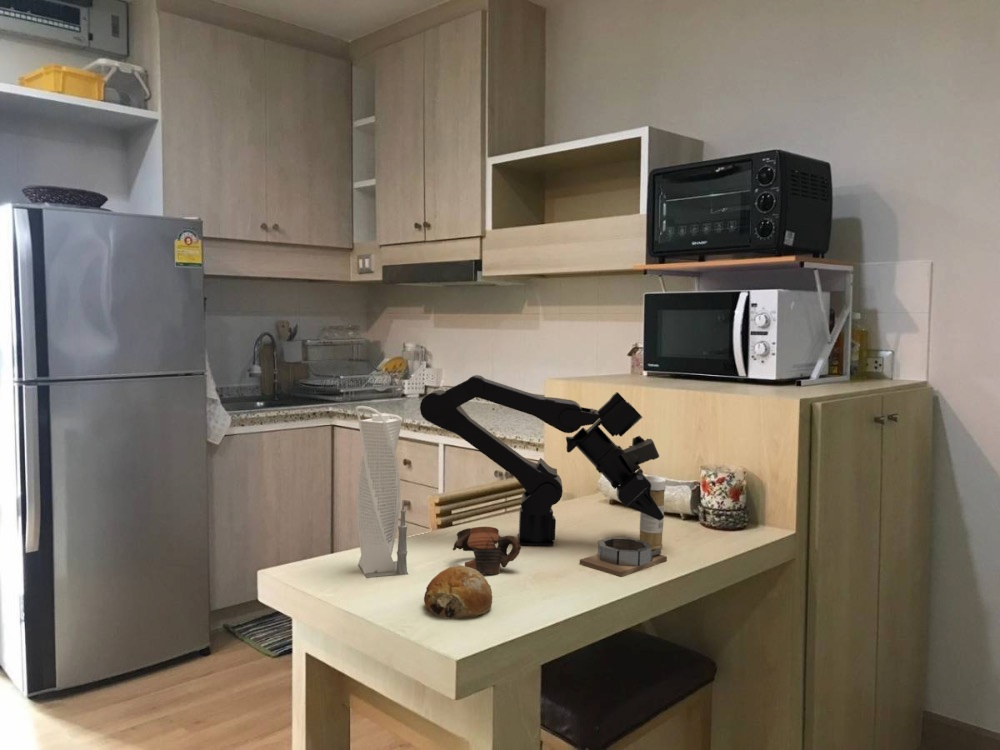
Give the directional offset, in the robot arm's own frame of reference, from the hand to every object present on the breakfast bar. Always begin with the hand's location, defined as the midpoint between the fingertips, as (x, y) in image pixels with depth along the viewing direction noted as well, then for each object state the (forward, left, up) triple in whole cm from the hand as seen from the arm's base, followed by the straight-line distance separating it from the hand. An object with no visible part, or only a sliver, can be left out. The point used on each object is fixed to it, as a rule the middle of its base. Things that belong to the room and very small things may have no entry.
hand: (658, 512), depth 155 cm
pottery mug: (-33, -15, -7) cm, 37 cm away
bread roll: (-38, -34, -7) cm, 51 cm away
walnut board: (-8, -10, -7) cm, 15 cm away
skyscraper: (-51, -17, -7) cm, 54 cm away
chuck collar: (-7, -9, -6) cm, 13 cm away
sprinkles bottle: (-1, 0, -7) cm, 7 cm away
